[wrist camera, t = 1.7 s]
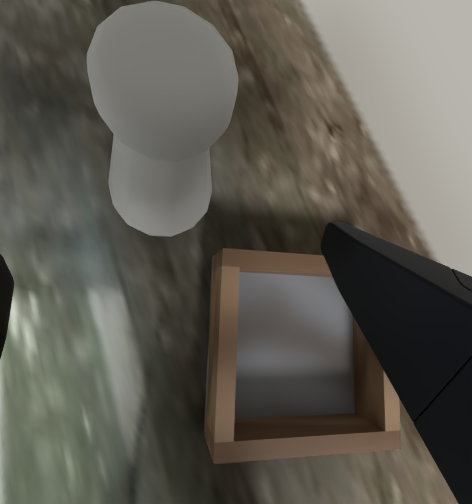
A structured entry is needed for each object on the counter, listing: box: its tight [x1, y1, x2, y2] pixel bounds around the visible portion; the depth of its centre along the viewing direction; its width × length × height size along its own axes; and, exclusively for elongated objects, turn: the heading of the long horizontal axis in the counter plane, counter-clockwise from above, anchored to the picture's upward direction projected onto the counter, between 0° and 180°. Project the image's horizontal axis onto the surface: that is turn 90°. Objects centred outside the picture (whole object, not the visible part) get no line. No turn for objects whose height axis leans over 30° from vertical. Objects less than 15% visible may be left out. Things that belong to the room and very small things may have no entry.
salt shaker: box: [87, 1, 239, 237], centre depth 15 cm, size 6×6×13 cm
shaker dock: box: [204, 248, 401, 464], centre depth 20 cm, size 11×11×4 cm
